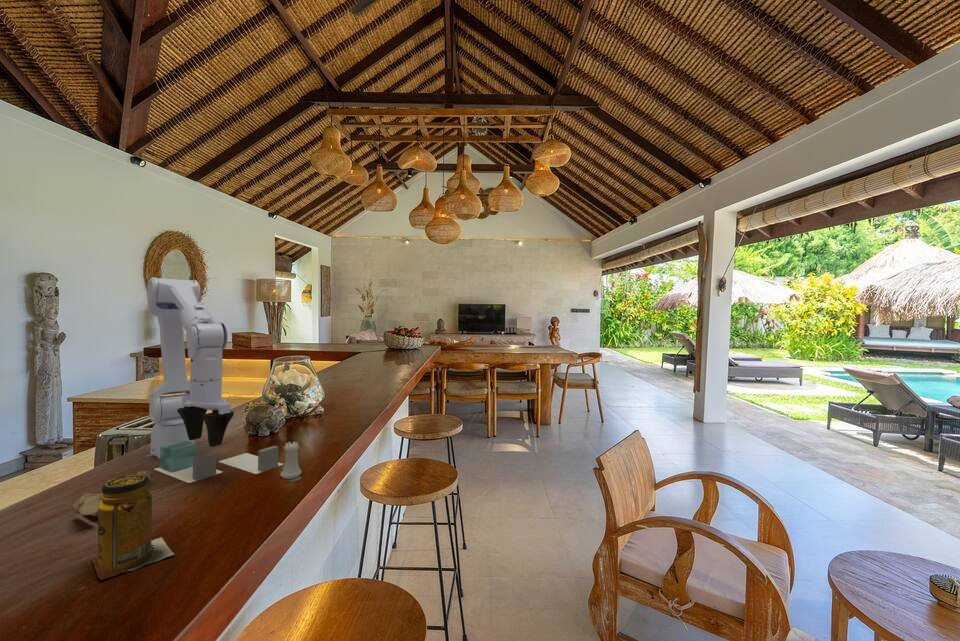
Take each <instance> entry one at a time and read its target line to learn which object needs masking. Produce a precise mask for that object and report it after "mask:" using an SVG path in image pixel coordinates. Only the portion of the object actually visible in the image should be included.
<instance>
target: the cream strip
mask: <svg viewBox="0 0 960 641" xmlns="http://www.w3.org/2000/svg"><path fill="white" fill-rule="evenodd" d="M153 470H155V471H157V472H159V473H162V474H165V475H168V476H169V477H172V478H174V479H177V480H180V481H182V482H186V483H188V484H190V483H193V482H197V481H199V480H203V479H205V478H209V477H212V476H216V475H218V474H221V473H223V471H222V470H218V469H217V453H215V452H213V451H212V452H209V453H206V454H203V455H197V457H194V458H193V467H190V468H186V469H183V470H179V471H176V472H173V473H171V472H169V471H166V470H164V469H161V468H160V466H159V467H156V468H153Z"/></svg>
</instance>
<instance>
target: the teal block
mask: <svg viewBox="0 0 960 641" xmlns="http://www.w3.org/2000/svg"><path fill="white" fill-rule="evenodd" d="M197 446H198V445H197V443H195V442H194V443H192V442H189V441H186V440H183V441H179V442H174V443H170V444H166V445H162V446H160V459H159V467H160V468H161V469H164V470H166V471H169V472H171V473H173V472H176V471H179V470H183V469H186V468H190V467H193V458H194V457H198V455H197V454H198V453H197V452H198V450H197Z"/></svg>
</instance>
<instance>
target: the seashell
mask: <svg viewBox="0 0 960 641" xmlns="http://www.w3.org/2000/svg"><path fill="white" fill-rule="evenodd" d="M136 475H145V476H147V477H148V478H149V480H150V478H151V475H152V470H145V471H144V470H141V471H137V473H136ZM102 501H103V500H102V492H101V493H95V494H94V493H85V494H82V496H80V497H79V498H78V499H77V500H76V502H74V504H73V506H72V508H74V510H75V511H77V512H79V515H81V516H93V517H98V509H99V505H100V503H101V502H102Z"/></svg>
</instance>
